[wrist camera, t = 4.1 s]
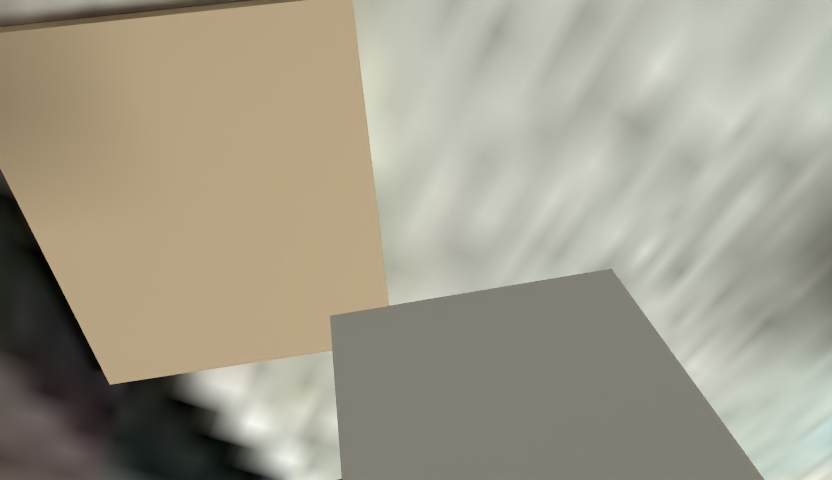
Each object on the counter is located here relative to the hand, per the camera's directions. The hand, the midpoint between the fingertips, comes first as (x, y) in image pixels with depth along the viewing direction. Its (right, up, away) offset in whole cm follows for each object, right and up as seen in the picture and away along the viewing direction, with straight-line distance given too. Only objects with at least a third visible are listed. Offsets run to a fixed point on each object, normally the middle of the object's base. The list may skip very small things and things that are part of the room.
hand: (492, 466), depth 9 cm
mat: (-7, +4, +10) cm, 13 cm away
